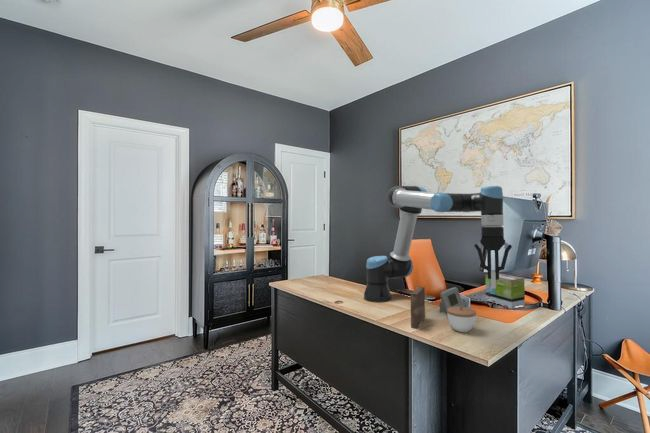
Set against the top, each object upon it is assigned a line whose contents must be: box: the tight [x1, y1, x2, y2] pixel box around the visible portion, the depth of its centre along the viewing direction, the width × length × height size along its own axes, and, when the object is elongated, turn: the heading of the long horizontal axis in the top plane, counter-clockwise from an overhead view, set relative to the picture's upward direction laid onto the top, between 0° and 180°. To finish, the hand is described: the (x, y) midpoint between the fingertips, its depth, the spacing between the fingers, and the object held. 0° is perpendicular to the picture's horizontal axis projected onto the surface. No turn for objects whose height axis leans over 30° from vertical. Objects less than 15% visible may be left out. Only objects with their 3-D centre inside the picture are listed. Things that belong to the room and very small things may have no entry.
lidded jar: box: [446, 306, 477, 333], centre depth 125 cm, size 11×11×9 cm
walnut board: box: [410, 286, 426, 329], centre depth 134 cm, size 2×15×14 cm, turn 150°
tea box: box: [484, 272, 526, 310], centre depth 159 cm, size 15×10×15 cm, turn 23°
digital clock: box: [439, 286, 465, 315], centre depth 149 cm, size 16×9×11 cm, turn 123°
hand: (493, 287), depth 120 cm, fingers closed
